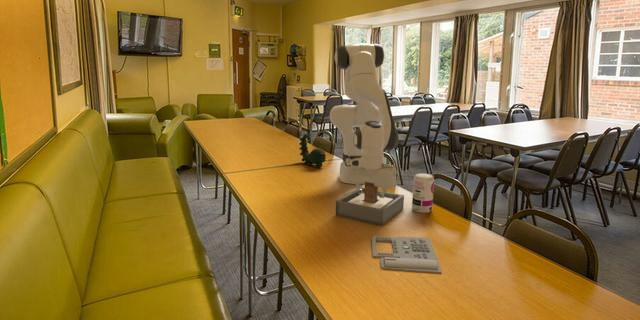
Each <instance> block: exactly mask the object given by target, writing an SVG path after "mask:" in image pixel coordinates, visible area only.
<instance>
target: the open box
mask: <svg viewBox="0 0 640 320" xmlns="http://www.w3.org/2000/svg"><path fill="white" fill-rule="evenodd" d="M361 189H363V194H358V189H357V188H356V189H355V190H353V191H352V192H350V193H348V194H346V195H344V196H343V197H341V198H339V199H337V200H335V216H336V217H342V218H346V219H350V220H355V221H358V222H362V223H363V222H364V223H366V224H370V225H376V226H380V227H383V226H384V225H385V224H386V223H388V222H389V221H390V220H392V218H394V217H395V216H396V215H397V214H399V213H401V211H402V210H404V204H405V203H404V202H405V195H404V194H398V193H394V192H387V191H386V192H385V193H384V198H379V194H380V193H382V192H383V190H378V195H377V202H376V203H374V204H373V203H368V202H364V190H365V187H362V186H361Z"/></svg>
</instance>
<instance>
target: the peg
mask: <svg viewBox="0 0 640 320" xmlns="http://www.w3.org/2000/svg"><path fill="white" fill-rule="evenodd" d="M364 188H365V190H364V202H368V203H373V204H374V203H376V202H377V195H378V191H379V190H378V189H379V187H376V186H374V183H369V182H365V184H364Z"/></svg>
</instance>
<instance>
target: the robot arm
mask: <svg viewBox="0 0 640 320" xmlns="http://www.w3.org/2000/svg"><path fill="white" fill-rule="evenodd" d="M384 60H385V51H384V47H383V46H382V44H378V43H363V42H362V43H354V44H347V45H345V44H344V45H343V44H342V45H339V46H337V48H336V50H335V53H334V61H335V62H334V63H335V65H336V67H337V68H338V69H341V70H345V71H344V94H345V96H346V97H347V98H348V99H350V100H352V101H354V102H355V103H356V104H340V105H335V106H333V107H332V108H331V109H330V111H329V120H330V122H331V124H332V125H333V126H335V127H336V128H337V129H338V131H339V133H340V135H341V137H342V141H343V142H342V143H343V152H342V157H341V159H342V161H341V162H340V166H339V173H338V174H339V175H337V179H339V181H340V182H341V183H344V184H350V185H351V184H353V185H355V187H356V190H357V189H358V194H363V189H361V187H362V185H365V182H369V183H374V186H376V187H378V188H381V191H383V192H382V193H380V194H379V198H384V193H385V192H387V190H388V189H389V190H392V189H395V188H396V187H397V174H398V173H397V171H398V170H397V168H396V167H395V166H394V165H393V164H392V165H391V164H386V163H384V157H385V153H384V151H388V152H389V151H393V150H394V149H395V148H396V147H398V144H399V138H400V137H399V133H398V131H397V127H396V124H395V121H394V117H393V113H392V109H391V104H390V101H389V97H388V94H387V92H386V90H385V89H383V88H382V87H381V85H380V84H379V81H378V76H377V74H378V73H377V68H379V67H381V66H382V65H383V63H384ZM354 128H357V129H354Z"/></svg>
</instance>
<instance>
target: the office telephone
mask: <svg viewBox="0 0 640 320" xmlns="http://www.w3.org/2000/svg"><path fill="white" fill-rule="evenodd" d="M376 242H381V243H382V242H383V243H391V244H392V248H393V249H392V250H393V252H379V251H377V243H376ZM371 248H372V249H371V250H372V251H371V253H372V257H373V258H374V259H375V258H376V259H378V258H380V261H379V262H380V269H382V270H386V271H387V270H388V271H389V270H390V271H403V272H412V273H413V272H416V273H430V274H442V273H443V271H442V268H441V265H440V262H439V260H438V257H437V254H436V252H435V249H434V247H433V244H432V240H431V238H430V237H421V236H419V237H417V236H396V237H393V236H392V237H390V236H375V235H374V236H373V235H372V237H371Z"/></svg>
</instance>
